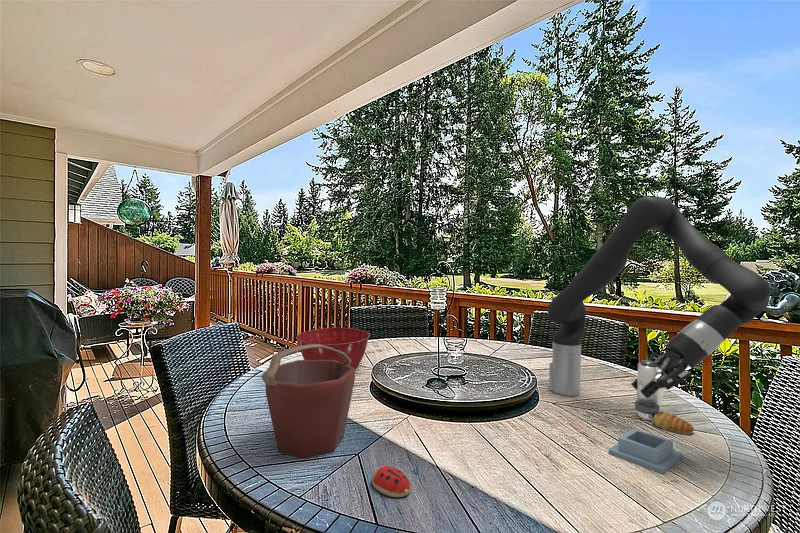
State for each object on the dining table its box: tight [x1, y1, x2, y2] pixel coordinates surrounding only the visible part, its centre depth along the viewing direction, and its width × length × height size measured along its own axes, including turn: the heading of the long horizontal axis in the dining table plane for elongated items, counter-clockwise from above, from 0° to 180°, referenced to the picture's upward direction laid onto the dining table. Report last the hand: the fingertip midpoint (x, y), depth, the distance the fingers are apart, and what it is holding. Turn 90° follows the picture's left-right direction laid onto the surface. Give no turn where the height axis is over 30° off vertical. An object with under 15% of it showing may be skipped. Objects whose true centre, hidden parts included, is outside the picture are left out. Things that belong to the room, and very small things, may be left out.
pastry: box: [652, 410, 695, 435], centre depth 118 cm, size 9×7×4 cm
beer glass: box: [637, 377, 665, 422], centre depth 126 cm, size 7×7×15 cm
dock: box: [607, 428, 684, 475], centre depth 103 cm, size 12×12×4 cm
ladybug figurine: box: [371, 465, 412, 498], centre depth 89 cm, size 7×10×4 cm
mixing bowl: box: [295, 327, 371, 371], centre depth 167 cm, size 28×28×16 cm
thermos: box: [634, 359, 660, 414], centre depth 102 cm, size 5×5×12 cm
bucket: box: [261, 344, 356, 460], centre depth 109 cm, size 24×22×25 cm
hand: (639, 391), depth 102 cm, fingers closed on thermos, 4 cm apart
